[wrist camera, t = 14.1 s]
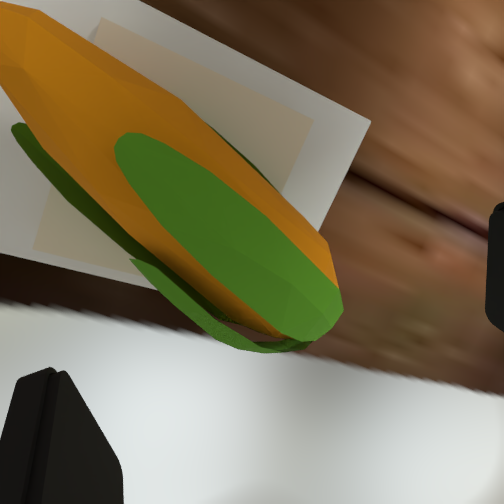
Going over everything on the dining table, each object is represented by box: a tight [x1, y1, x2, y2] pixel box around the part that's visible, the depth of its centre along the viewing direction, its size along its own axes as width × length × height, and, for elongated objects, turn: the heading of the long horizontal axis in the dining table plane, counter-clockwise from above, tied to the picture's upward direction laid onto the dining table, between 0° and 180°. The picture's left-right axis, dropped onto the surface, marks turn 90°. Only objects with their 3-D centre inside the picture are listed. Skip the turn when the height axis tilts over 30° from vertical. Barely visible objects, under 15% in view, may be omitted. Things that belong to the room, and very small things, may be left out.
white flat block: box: [0, 0, 371, 290], centre depth 23 cm, size 20×14×4 cm
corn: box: [0, 1, 344, 353], centre depth 19 cm, size 7×8×20 cm
